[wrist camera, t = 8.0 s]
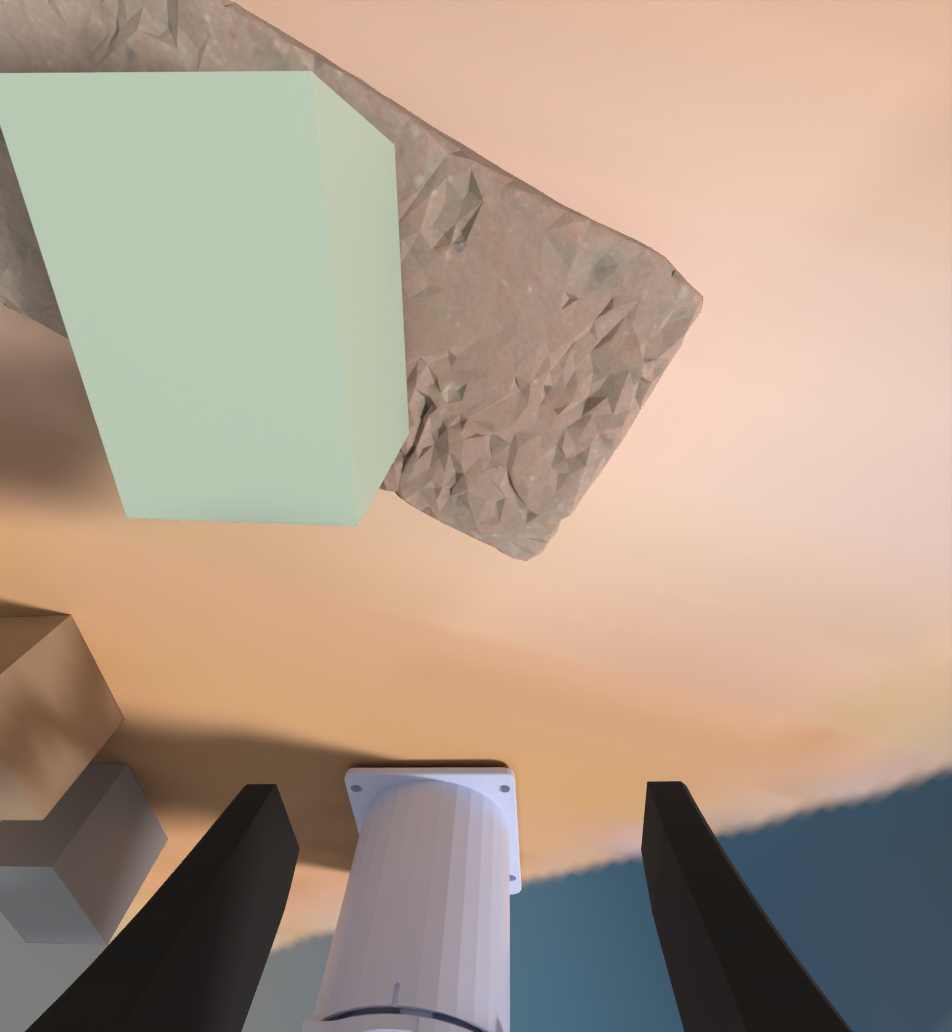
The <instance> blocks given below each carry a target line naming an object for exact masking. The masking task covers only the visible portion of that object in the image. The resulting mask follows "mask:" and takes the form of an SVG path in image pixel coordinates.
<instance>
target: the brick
mask: <svg viewBox="0 0 952 1032" xmlns="http://www.w3.org/2000/svg"><path fill="white" fill-rule="evenodd" d="M229 71H311V72H313V73H314V74H315V75H316V76H317V77H318V78H319V79H320V80H322V81H323V82H324V83H325V84H326V85H327V86H328V87H330V88H331V89H332V90H333V91H334V92H335V93H336V94H338V95H339V96H340V97H341V98H342V99H343V100H344V101H345V102H347V103H348V104H349V105H350V106H351V107H352V108H353V109H355V110H356V111H357V112H358V113H359V114H360V115H361V116H363V117H364V118H365V119H366V120H367V121H368V122H369V123H371V124H372V125H373V126H374V127H375V128H376V129H377V130H378V131H380V132H381V133H382V134H383V135H384V136H385V137H386V138H388V139H389V140H390V141H391V142H392V143H393V144H394V145H395V162H396V182H397V202H398V222H399V242H400V262H401V282H402V302H403V321H404V341H405V361H406V381H407V401H408V421H409V434H408V436H407V438H406V440H405V442H404V444H403V445H402V447H401V449H400V451H399V453H398V454H397V456H396V458H395V460H394V462H393V464H392V465H391V467H390V469H389V471H388V473H387V474H386V476H385V478H384V480H383V482H382V484H381V485H380V487H379V488H380V489H383V490H388V491H394V492H395V493H396V494H397V495H398V496H399V497H400V498H402V499H403V500H404V501H406V502H407V503H408V504H410V505H412V506H413V507H415V508H417V509H418V510H420V511H422V512H424V513H426V514H427V515H429V516H431V517H433V518H435V519H437V520H439V521H440V522H442V523H444V524H446V525H448V526H451V527H453V528H455V529H457V530H459V531H461V532H463V533H465V534H467V535H469V536H471V537H473V538H475V539H477V540H479V541H481V542H484V543H486V544H488V545H491V546H493V547H495V548H497V549H498V550H499V551H501V552H502V553H504V554H506V555H508V556H510V557H512V558H515V559H519V560H524V561H527V560H529V559H531V558H533V557H535V556H537V555H539V554H540V553H541V552H542V551H543V550H544V548H545V547H546V545H547V544H548V542H549V540H550V539H551V538H552V537H553V535H554V534H555V533H556V532H557V530H558V527H559V524H560V520H562V519H564V518H566V517H567V516H569V515H571V514H572V513H573V511H574V510H575V509H576V507H577V505H578V504H579V502H580V500H581V499H582V497H583V495H584V494H585V493H586V491H587V490H588V489H589V487H590V486H591V485H592V483H593V482H594V481H595V479H596V478H597V476H598V475H599V474H600V472H601V471H602V470H603V468H604V467H605V465H606V464H607V462H608V461H609V459H610V458H611V456H612V455H613V453H614V452H615V450H616V449H617V447H618V446H619V444H620V443H621V441H622V440H623V438H624V437H625V435H626V433H627V432H628V430H629V429H630V427H631V426H632V424H633V422H634V420H635V418H636V417H637V415H638V413H639V411H640V410H641V408H642V406H643V405H644V403H645V402H646V400H647V399H648V397H649V396H650V394H651V393H652V391H653V390H654V388H655V386H656V384H657V383H658V381H659V379H660V378H661V376H662V374H663V372H664V371H665V369H666V368H667V366H668V364H669V363H670V361H671V360H672V358H673V357H674V355H675V354H676V352H677V351H678V349H679V348H680V346H681V344H682V341H683V339H684V336H685V334H686V332H687V331H688V329H689V328H690V327H691V325H692V324H693V322H694V321H695V319H696V318H697V317H698V315H699V314H700V312H701V309H702V304H703V296H702V295H701V294H700V293H699V292H698V291H697V290H695V289H694V288H693V287H692V286H691V285H690V284H689V283H688V282H687V281H686V280H685V278H684V277H683V276H682V275H681V274H680V273H679V272H678V271H677V270H676V268H675V267H674V266H673V265H672V264H671V263H670V262H669V261H668V259H667V258H666V257H664V256H663V255H661V254H659V253H658V252H656V251H655V250H653V249H652V248H650V247H648V246H646V245H644V244H642V243H641V242H639V241H637V240H635V239H633V238H631V237H628V236H626V235H624V234H622V233H620V232H618V231H616V230H613V229H611V228H609V227H607V226H604V225H602V224H600V223H598V222H595V221H594V220H592V219H590V218H588V217H586V216H584V215H582V214H580V213H579V212H577V211H574V210H572V209H570V208H568V207H566V206H564V205H562V204H560V203H558V202H557V201H555V200H553V199H552V198H550V197H549V196H547V195H545V194H544V193H542V192H540V191H539V190H537V189H536V188H534V187H532V186H531V185H529V184H527V183H525V182H524V181H522V180H520V179H518V178H517V177H515V176H513V175H511V174H510V173H508V172H506V171H505V170H503V169H501V168H500V167H498V166H497V165H495V164H493V163H492V162H490V161H488V160H487V159H485V158H484V157H482V156H481V155H479V154H477V153H476V152H474V151H473V150H471V149H469V148H468V147H466V146H465V145H463V144H461V143H460V142H458V141H456V140H455V139H453V138H451V137H449V136H448V135H446V134H444V133H443V132H441V131H439V130H437V129H436V128H434V127H432V126H431V125H429V124H428V123H426V122H425V121H423V120H422V119H420V118H419V117H417V116H416V115H414V114H413V113H411V112H410V111H408V110H406V109H405V108H403V107H402V106H400V105H399V104H397V103H396V102H394V101H393V100H391V99H389V98H388V97H386V96H384V95H382V94H381V93H379V92H378V91H377V90H375V89H374V88H372V87H371V86H370V85H368V84H367V83H366V82H364V81H363V80H361V79H360V78H358V77H356V76H354V75H352V74H351V73H349V72H347V71H345V70H343V69H342V68H340V67H339V66H337V65H336V64H334V63H333V62H331V61H330V60H328V59H327V58H325V57H324V56H322V55H321V54H319V53H317V52H316V51H314V50H312V49H311V48H309V47H307V46H306V45H304V44H302V43H301V42H299V41H297V40H296V39H294V38H292V37H291V36H289V35H287V34H286V33H284V32H282V31H281V30H279V29H278V28H276V27H274V26H272V25H271V24H269V23H267V22H266V21H264V20H262V19H261V18H259V17H257V16H255V15H254V14H252V13H250V12H249V11H247V10H245V9H244V8H242V7H241V6H240V5H238V4H237V3H235V2H232V1H229V0H0V73H93V72H229ZM0 301H1V302H2V303H3V304H4V305H6V306H7V307H9V308H11V309H13V310H15V311H17V312H20V313H22V314H24V315H26V316H28V317H30V318H32V319H34V320H36V321H38V322H40V323H42V324H43V325H45V326H47V327H48V328H50V329H52V330H54V331H55V332H57V333H59V334H61V335H62V336H64V337H66V338H68V339H69V337H68V334H67V331H66V328H65V325H64V322H63V319H62V315H61V312H60V309H59V306H58V303H57V300H56V297H55V294H54V291H53V288H52V284H51V281H50V278H49V275H48V272H47V269H46V266H45V263H44V260H43V257H42V253H41V250H40V247H39V244H38V241H37V238H36V235H35V232H34V229H33V225H32V222H31V219H30V216H29V213H28V210H27V207H26V204H25V201H24V198H23V194H22V191H21V188H20V185H19V182H18V179H17V176H16V173H15V170H14V166H13V163H12V160H11V157H10V154H9V151H8V148H7V145H6V142H5V139H4V135H3V132H2V129H1V126H0Z"/></svg>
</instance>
